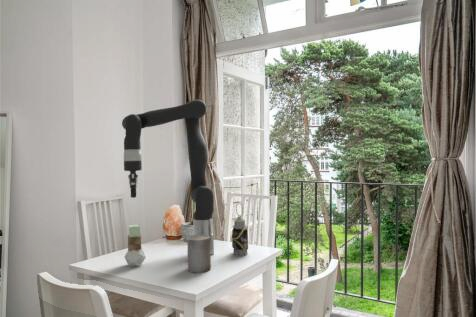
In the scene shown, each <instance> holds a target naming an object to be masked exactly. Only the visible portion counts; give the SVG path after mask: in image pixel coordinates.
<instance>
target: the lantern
mask: <svg viewBox="0 0 476 317" xmlns="http://www.w3.org/2000/svg"><path fill="white" fill-rule="evenodd" d="M238 204H240V206H241V209H242V213H241V215H239V214H238V211H237V208H238V207H237V206H238ZM235 212H236V214H237V216H238V217H237V218H236V219H234V220H233V221H234V224H233V226H232V231H231V242H232V244H231V246H232V249H233V251H232V252H233V255H235V256H246V255H247V254H248V250H249V236H248V235H249V234H248V233H249V232H248V231H249V227H248V225H247V224H246V220H245V219H244V218H243V217H242V216H243V213H244V207H243V205H242V203H241V202H237V203H236V206H235Z"/></svg>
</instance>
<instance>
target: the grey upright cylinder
mask: <svg viewBox="0 0 476 317" xmlns="http://www.w3.org/2000/svg"><path fill="white" fill-rule="evenodd" d="M186 239H187V240H186V241H187V271H189V273H200V274H201V273H205V272H209V271H210V270H211V268H212V264H211V262H212V261H211V259H212V258H211V255H212V254H211V253H210V236H208V235H194V234H192V235H189V236H188V237H186Z"/></svg>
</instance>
